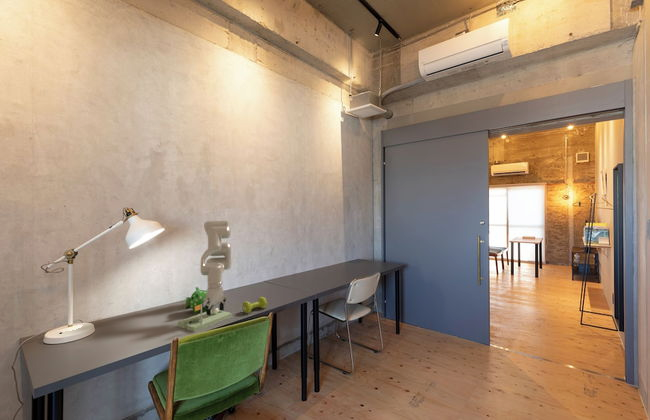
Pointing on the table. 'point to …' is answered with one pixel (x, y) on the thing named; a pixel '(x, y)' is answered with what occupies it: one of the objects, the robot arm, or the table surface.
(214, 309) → the ball
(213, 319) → the green
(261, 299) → the dumbbell
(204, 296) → the piggy bank
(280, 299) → the table surface
